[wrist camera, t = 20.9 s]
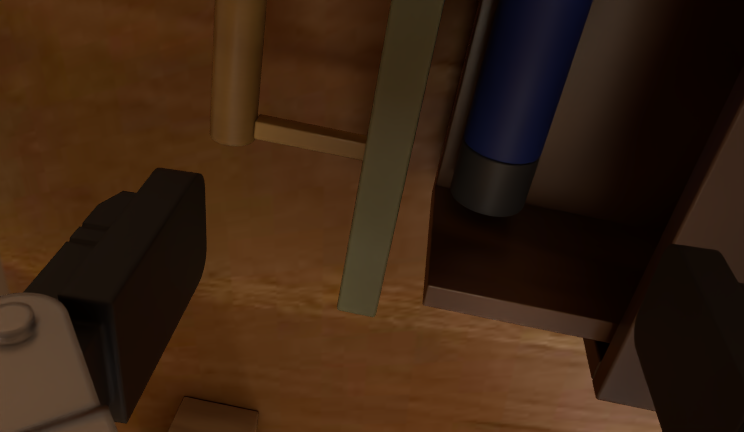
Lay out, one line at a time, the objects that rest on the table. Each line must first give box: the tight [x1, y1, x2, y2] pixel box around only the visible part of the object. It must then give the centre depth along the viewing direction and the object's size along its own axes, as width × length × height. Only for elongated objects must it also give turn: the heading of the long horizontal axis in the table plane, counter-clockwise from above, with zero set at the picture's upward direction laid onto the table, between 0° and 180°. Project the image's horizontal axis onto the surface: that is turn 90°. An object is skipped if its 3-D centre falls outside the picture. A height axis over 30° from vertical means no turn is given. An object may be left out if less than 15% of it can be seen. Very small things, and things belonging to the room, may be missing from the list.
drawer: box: [210, 0, 744, 343], centre depth 20 cm, size 18×13×7 cm
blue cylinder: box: [450, 0, 593, 217], centre depth 21 cm, size 9×3×3 cm, turn 171°
